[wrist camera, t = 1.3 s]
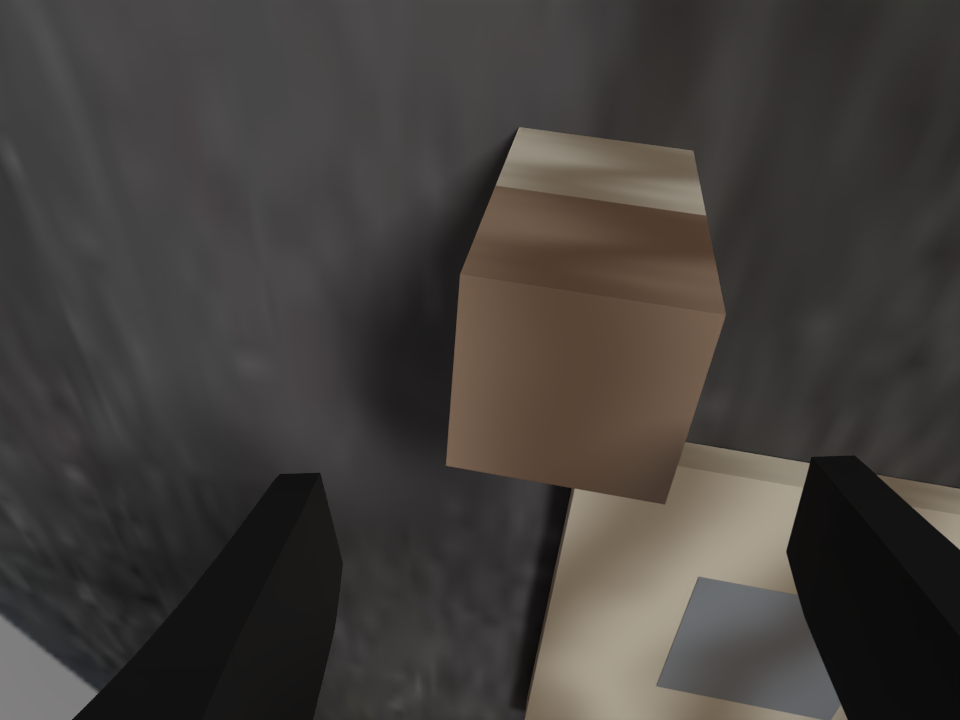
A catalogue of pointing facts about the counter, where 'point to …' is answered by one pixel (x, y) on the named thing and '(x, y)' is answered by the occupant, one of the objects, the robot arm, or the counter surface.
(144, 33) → the counter surface
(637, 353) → the block stack
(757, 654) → the birch board
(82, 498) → the counter surface
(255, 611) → the robot arm
